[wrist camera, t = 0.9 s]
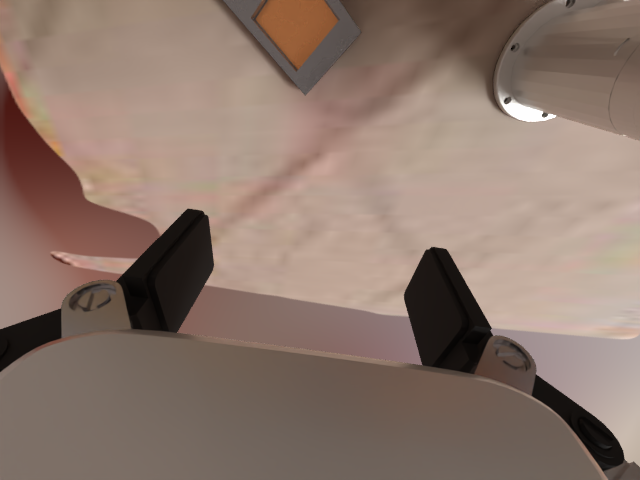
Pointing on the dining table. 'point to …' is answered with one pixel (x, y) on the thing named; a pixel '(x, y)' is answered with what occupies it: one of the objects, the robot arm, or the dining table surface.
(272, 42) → the divided tray
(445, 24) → the dining table surface
